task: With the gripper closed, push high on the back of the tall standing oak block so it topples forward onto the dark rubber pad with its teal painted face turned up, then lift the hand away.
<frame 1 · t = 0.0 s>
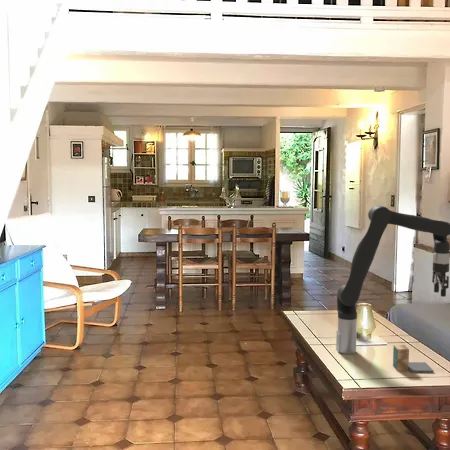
hand: (439, 294, 252), 29 cm above the table, tool pointing down, fingers open, 8 cm apart
oak block: (400, 368, 234), on the table
rubber pad: (418, 368, 234), on the table
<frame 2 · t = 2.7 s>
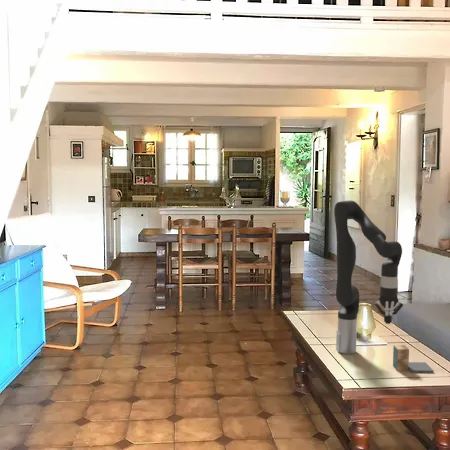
hand: (387, 323, 232), 21 cm above the table, tool pointing down, fingers closed
nothing on the table moved.
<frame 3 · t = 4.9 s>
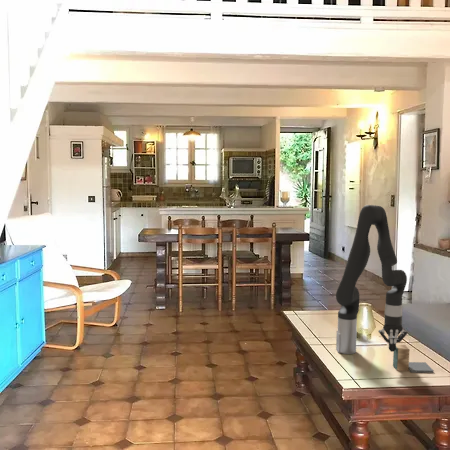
hand: (392, 350, 233), 8 cm above the table, tool pointing down, fingers closed
oak block: (400, 368, 234), on the table, touching gripper
everything else where it was.
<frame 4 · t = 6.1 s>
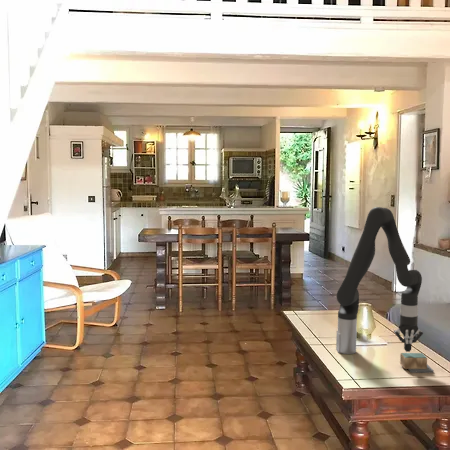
hand: (407, 351, 233), 8 cm above the table, tool pointing down, fingers closed
oak block: (402, 360, 233), point 3 cm above the table, tilted 90°, touching rubber pad
everything else where it was.
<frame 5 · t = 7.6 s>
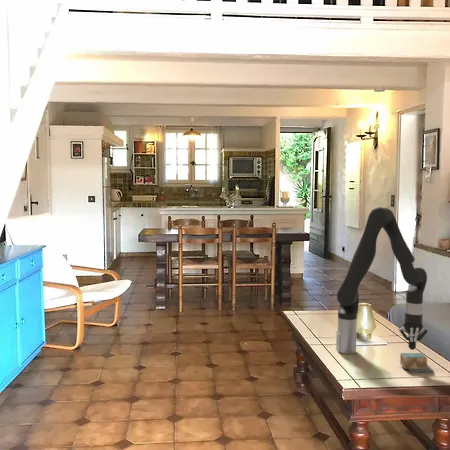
hand: (412, 349, 233), 9 cm above the table, tool pointing down, fingers closed
nothing on the table moved.
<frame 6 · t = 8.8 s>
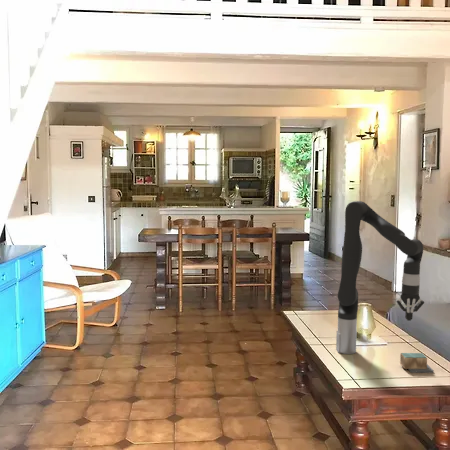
hand: (408, 320, 235), 22 cm above the table, tool pointing down, fingers closed
nothing on the table moved.
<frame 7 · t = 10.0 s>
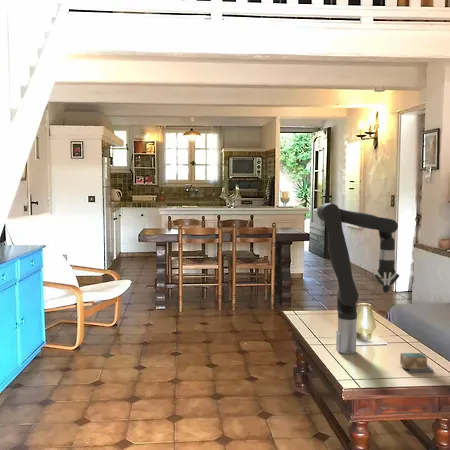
hand: (385, 292, 258), 29 cm above the table, tool pointing down, fingers closed
nothing on the table moved.
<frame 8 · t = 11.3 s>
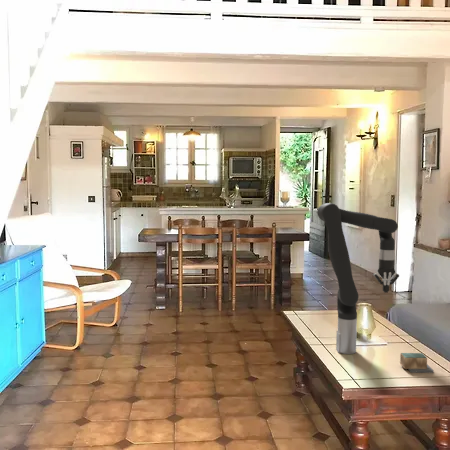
hand: (385, 292, 258), 29 cm above the table, tool pointing down, fingers closed
nothing on the table moved.
at the end: oak block tilted 90°; oak block touching rubber pad; oak block inside the target area (4.3 cm from its centre), point 3.5 cm above the table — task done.
